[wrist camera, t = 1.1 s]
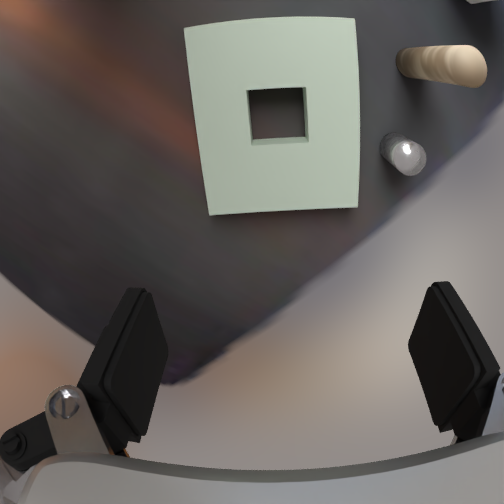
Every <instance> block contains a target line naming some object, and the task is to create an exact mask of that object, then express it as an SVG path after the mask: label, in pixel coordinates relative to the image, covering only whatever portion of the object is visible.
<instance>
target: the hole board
mask: <svg viewBox="0 0 504 504" xmlns="http://www.w3.org/2000/svg"><path fill="white" fill-rule="evenodd" d="M184 34H185V43H186V52H187V61H188V69H189V77H190V85H191V93H192V101H193V108H194V116H195V123H196V130H197V138H198V145H199V151H200V158H201V165H202V172H203V178H204V185H205V191H206V197H207V204H208V210H209V215H221V214H235V213H250V212H266V211H284V210H303V209H325V208H350V207H358V191H359V163H360V98H359V71H358V54H357V40H356V28H355V19H353V18H337V17H274V18H257V19H246V20H236V21H227V22H219V23H212V24H205V25H199V26H193V27H188V28H184ZM291 87H303V102H304V120H305V137H288V138H270V139H256V140H253V137H252V127H251V116H250V106H249V95H248V90H256V89H271V88H291Z"/></svg>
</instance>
